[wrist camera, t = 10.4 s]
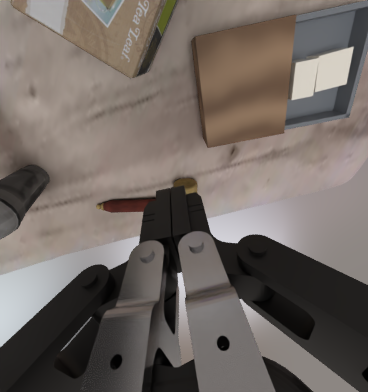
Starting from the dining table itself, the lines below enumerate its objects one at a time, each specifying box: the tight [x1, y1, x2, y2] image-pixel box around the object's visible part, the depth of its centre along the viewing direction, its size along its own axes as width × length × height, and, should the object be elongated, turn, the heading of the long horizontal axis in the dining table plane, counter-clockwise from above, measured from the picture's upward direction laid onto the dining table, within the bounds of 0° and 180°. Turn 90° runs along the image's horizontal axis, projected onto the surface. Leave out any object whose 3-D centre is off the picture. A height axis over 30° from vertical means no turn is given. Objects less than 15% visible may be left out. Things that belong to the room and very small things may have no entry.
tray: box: [284, 0, 368, 130], centre depth 30 cm, size 14×11×4 cm
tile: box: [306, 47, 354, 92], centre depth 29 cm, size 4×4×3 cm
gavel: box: [96, 178, 197, 212], centre depth 41 cm, size 21×5×10 cm
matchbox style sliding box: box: [191, 15, 296, 148], centre depth 29 cm, size 14×12×5 cm
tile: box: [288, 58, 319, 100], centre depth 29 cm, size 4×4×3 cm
